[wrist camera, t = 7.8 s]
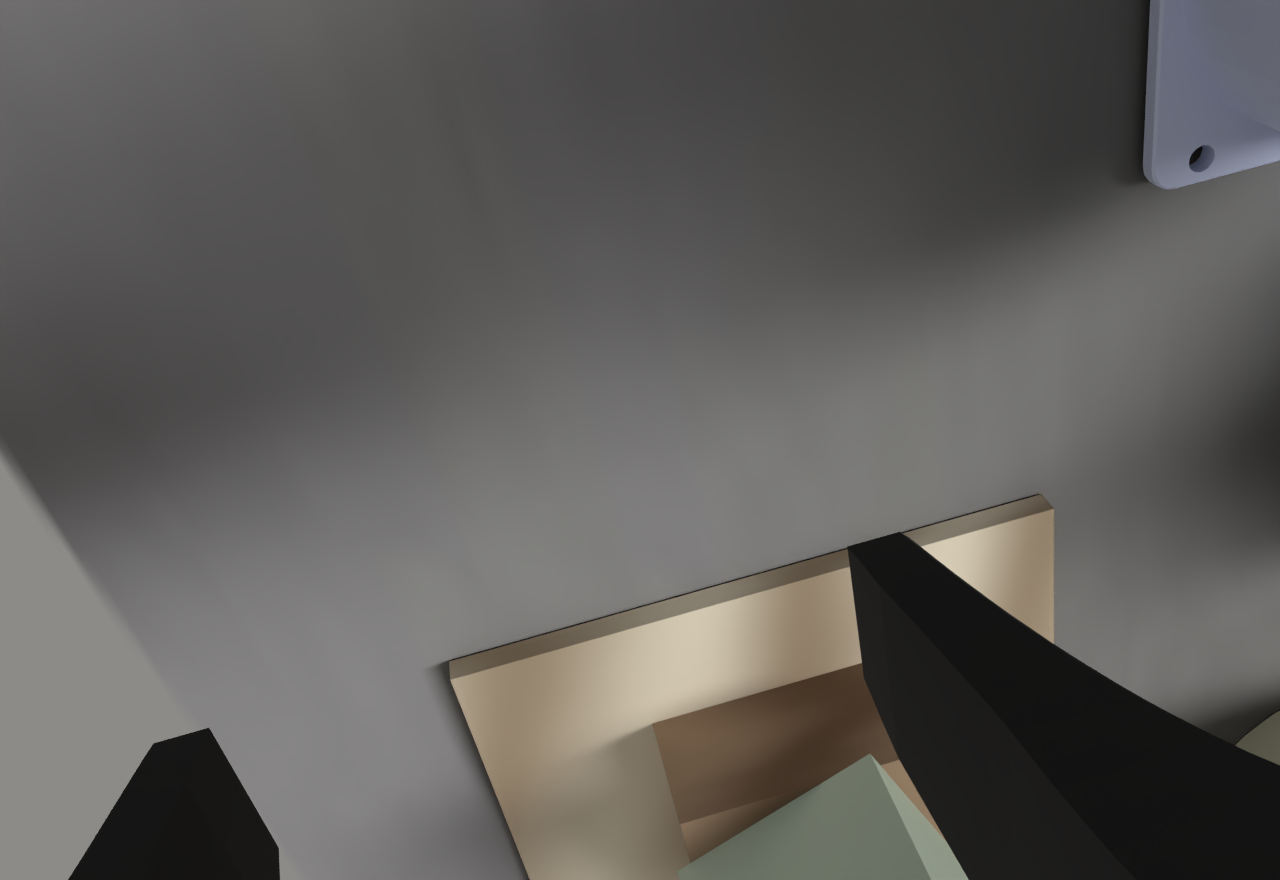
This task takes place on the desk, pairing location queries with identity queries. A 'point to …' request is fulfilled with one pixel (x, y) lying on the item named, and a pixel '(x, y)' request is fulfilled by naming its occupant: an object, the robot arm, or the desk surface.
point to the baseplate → (710, 704)
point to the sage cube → (836, 837)
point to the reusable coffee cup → (1264, 739)
